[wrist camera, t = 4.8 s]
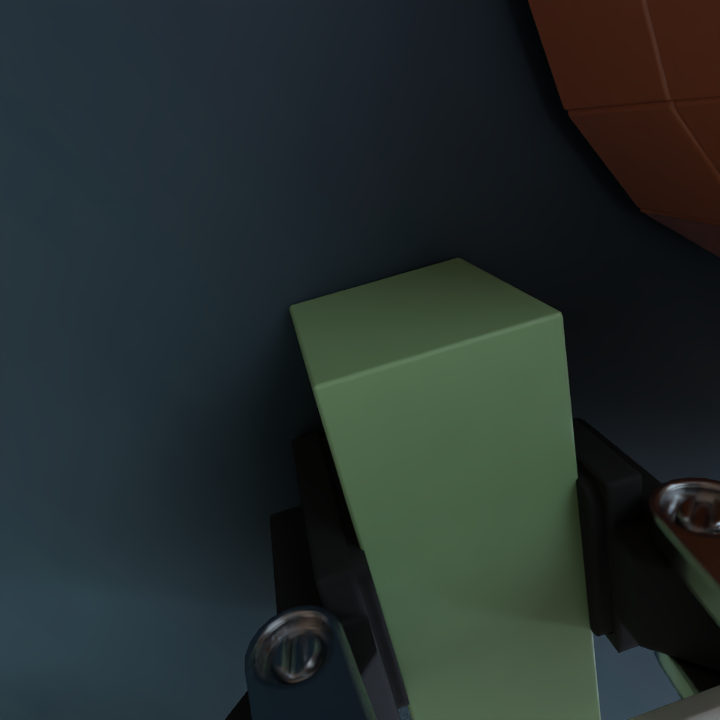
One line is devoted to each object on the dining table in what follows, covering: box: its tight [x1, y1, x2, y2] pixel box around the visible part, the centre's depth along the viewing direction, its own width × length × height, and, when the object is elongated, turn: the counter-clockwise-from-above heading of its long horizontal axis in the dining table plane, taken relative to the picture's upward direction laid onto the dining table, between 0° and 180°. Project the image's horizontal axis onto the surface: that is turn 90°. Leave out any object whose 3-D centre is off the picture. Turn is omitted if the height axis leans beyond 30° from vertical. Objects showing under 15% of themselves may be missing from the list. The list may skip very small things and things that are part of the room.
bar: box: [289, 258, 601, 720], centre depth 10 cm, size 8×3×4 cm, turn 13°
